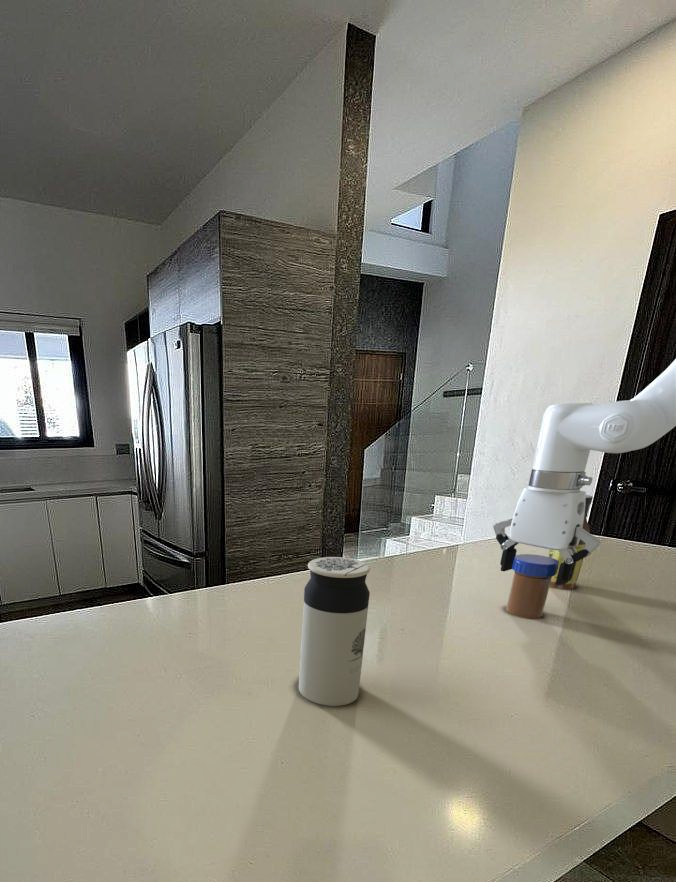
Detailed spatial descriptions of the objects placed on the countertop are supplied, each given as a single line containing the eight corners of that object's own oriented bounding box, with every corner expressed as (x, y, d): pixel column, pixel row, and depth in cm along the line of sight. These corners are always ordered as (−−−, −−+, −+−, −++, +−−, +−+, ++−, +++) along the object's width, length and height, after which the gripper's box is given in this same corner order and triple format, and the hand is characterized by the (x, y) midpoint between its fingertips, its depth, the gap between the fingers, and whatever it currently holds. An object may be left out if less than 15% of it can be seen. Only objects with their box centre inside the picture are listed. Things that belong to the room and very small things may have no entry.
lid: (503, 566, 90) (505, 555, 89) (535, 564, 91) (538, 553, 90) (531, 578, 84) (534, 565, 83) (565, 575, 85) (569, 563, 84)
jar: (531, 608, 93) (543, 559, 90) (548, 620, 88) (562, 568, 84) (499, 608, 93) (510, 558, 90) (515, 620, 88) (527, 567, 84)
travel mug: (286, 689, 66) (292, 563, 59) (323, 671, 70) (333, 552, 64) (333, 715, 60) (345, 579, 53) (370, 693, 65) (385, 565, 58)
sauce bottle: (547, 579, 109) (569, 491, 102) (579, 586, 105) (604, 495, 98) (536, 586, 105) (558, 494, 98) (569, 593, 101) (594, 498, 94)
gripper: (624, 485, 77) (596, 585, 83) (515, 475, 90) (497, 562, 96) (604, 488, 73) (575, 593, 79) (493, 478, 87) (476, 568, 93)
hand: (532, 576), depth 88 cm, fingers open, 9 cm apart
